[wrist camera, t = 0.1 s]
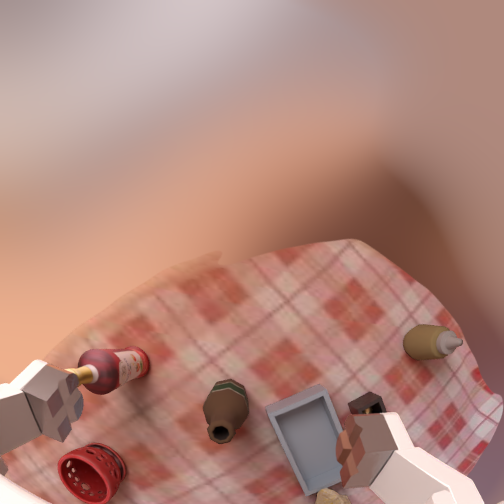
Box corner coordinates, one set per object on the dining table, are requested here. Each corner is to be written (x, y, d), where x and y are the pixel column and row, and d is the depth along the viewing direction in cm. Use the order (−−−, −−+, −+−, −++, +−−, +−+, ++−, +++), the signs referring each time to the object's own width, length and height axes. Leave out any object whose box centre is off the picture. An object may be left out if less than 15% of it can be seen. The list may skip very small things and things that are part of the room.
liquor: (120, 343, 59) (46, 347, 32) (152, 346, 59) (90, 356, 32) (120, 375, 57) (47, 399, 30) (151, 380, 57) (91, 411, 30)
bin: (350, 462, 54) (359, 472, 48) (301, 484, 52) (306, 496, 46) (318, 383, 58) (326, 388, 53) (265, 406, 57) (267, 414, 51)
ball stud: (370, 410, 57) (377, 413, 54) (358, 417, 57) (364, 420, 53) (366, 398, 58) (372, 401, 54) (354, 405, 57) (359, 408, 54)
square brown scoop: (388, 444, 55) (399, 452, 49) (367, 456, 54) (377, 465, 48) (369, 391, 58) (381, 396, 52) (347, 403, 57) (357, 409, 52)
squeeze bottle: (400, 363, 60) (447, 370, 42) (396, 329, 62) (442, 326, 44) (428, 353, 60) (476, 356, 43) (424, 321, 62) (472, 315, 45)
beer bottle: (250, 380, 58) (255, 411, 35) (245, 415, 56) (246, 462, 33) (212, 375, 58) (194, 401, 35) (207, 409, 56) (188, 453, 33)
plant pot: (90, 428, 54) (65, 442, 42) (137, 460, 52) (119, 482, 41) (74, 462, 51) (50, 479, 39) (118, 493, 49) (100, 516, 38)
